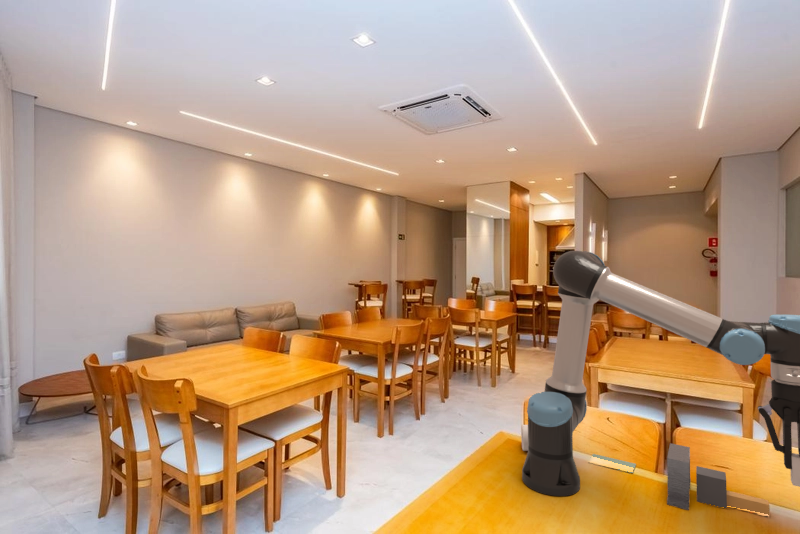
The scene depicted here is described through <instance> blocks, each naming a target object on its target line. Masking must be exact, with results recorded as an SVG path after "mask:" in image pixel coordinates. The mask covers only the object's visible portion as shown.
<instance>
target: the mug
mask: <svg viewBox="0 0 800 534" xmlns="http://www.w3.org/2000/svg"><path fill="white" fill-rule="evenodd" d="M520 432H521V435H520V436H521V438H520V439H521V448H522V451H523V452H528V424H521V431H520Z"/></svg>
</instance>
